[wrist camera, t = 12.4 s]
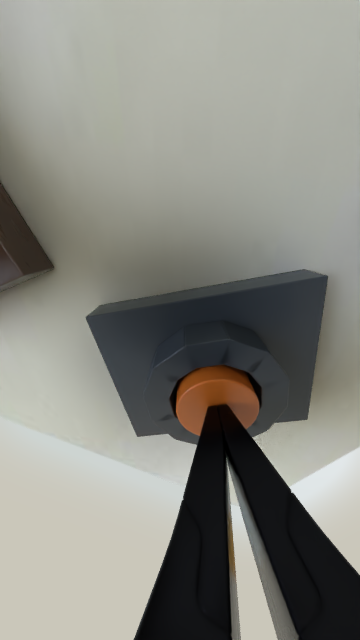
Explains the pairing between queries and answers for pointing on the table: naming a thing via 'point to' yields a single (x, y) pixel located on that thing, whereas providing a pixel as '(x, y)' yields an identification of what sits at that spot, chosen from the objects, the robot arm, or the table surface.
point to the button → (215, 395)
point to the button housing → (215, 346)
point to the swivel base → (18, 247)
